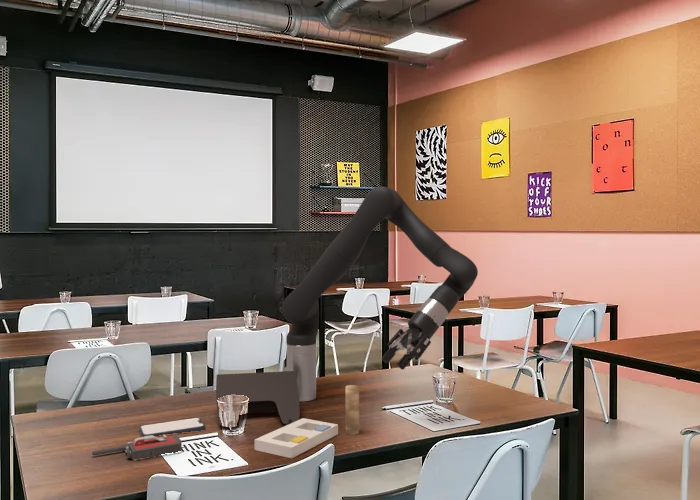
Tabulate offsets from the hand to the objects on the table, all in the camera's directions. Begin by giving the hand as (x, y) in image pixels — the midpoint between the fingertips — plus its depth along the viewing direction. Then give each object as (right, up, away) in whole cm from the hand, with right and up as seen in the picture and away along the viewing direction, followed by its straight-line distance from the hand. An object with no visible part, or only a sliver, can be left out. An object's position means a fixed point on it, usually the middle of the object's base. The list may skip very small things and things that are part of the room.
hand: (391, 364), depth 166 cm
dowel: (-10, -17, -4) cm, 20 cm away
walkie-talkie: (-60, -18, -20) cm, 66 cm away
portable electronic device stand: (-37, -17, +8) cm, 41 cm away
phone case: (-58, -18, -2) cm, 61 cm away
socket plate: (-24, -17, -12) cm, 32 cm away
